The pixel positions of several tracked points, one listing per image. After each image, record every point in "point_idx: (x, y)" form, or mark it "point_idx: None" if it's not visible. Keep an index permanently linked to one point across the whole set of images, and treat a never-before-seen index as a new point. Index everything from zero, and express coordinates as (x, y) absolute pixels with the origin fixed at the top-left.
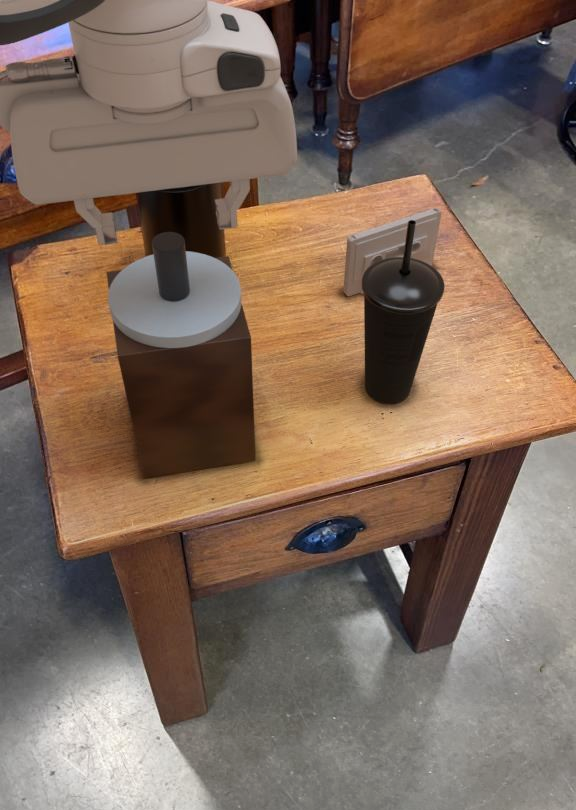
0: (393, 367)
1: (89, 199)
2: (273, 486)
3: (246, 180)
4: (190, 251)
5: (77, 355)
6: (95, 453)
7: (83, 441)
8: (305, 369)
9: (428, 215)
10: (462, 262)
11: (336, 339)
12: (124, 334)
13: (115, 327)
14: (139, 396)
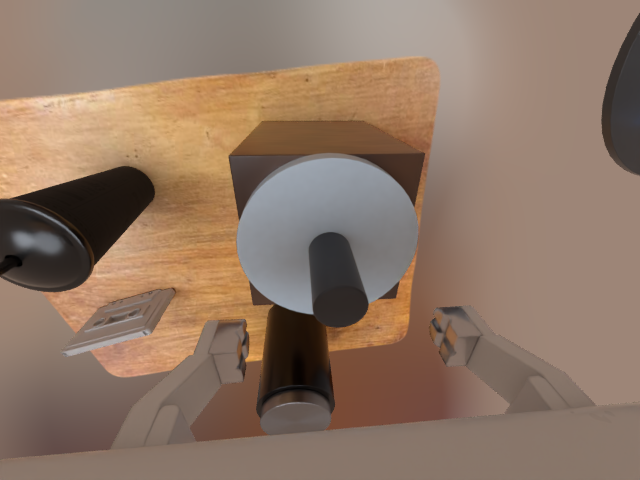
0: (97, 178)
1: (554, 402)
2: (247, 83)
3: (125, 439)
4: (293, 332)
5: None
6: None
7: None
8: (210, 220)
9: (72, 349)
10: (71, 310)
11: (182, 247)
12: None
13: None
14: (382, 138)
